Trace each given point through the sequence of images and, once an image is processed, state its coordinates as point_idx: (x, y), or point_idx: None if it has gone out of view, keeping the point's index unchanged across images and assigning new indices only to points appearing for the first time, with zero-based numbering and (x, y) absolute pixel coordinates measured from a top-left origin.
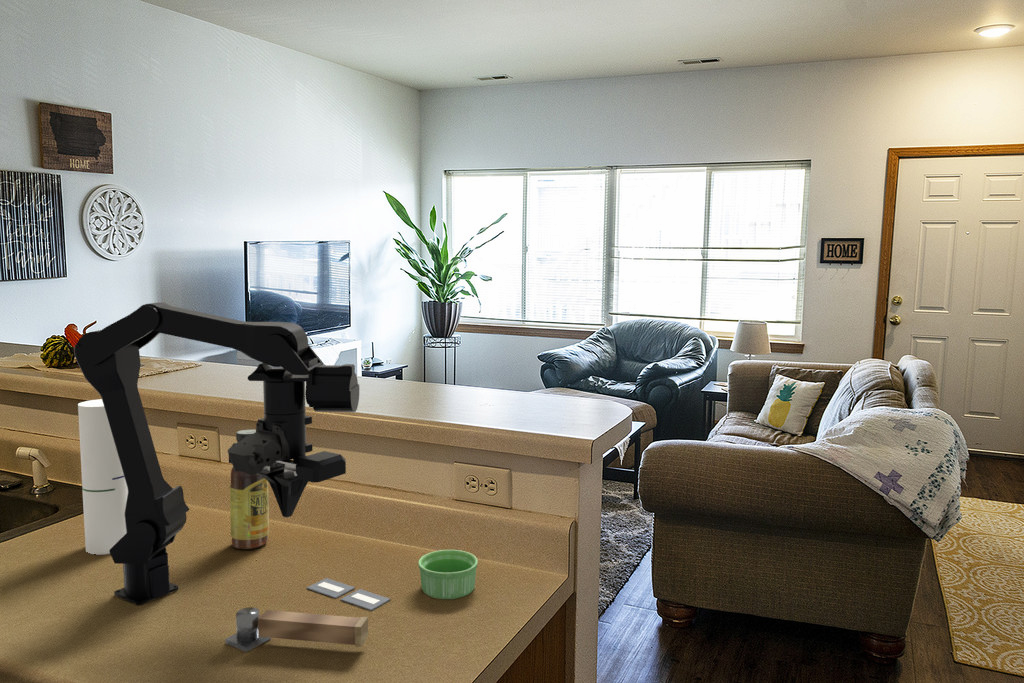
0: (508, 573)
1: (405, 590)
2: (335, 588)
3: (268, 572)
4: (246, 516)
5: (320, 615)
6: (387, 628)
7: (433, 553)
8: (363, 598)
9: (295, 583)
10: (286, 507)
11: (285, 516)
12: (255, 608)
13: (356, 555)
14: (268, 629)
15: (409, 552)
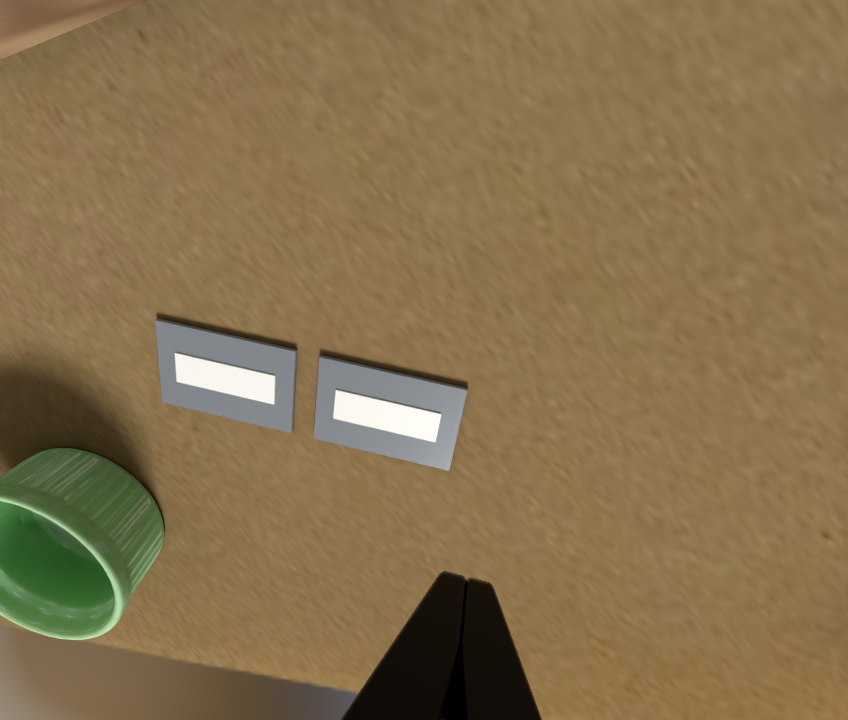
0: None
1: (177, 466)
2: (364, 411)
3: (706, 460)
4: None
5: (8, 2)
6: (31, 232)
7: (113, 611)
8: (230, 377)
9: (538, 411)
10: (397, 646)
11: (452, 576)
12: None
13: None
14: None
15: (337, 664)
